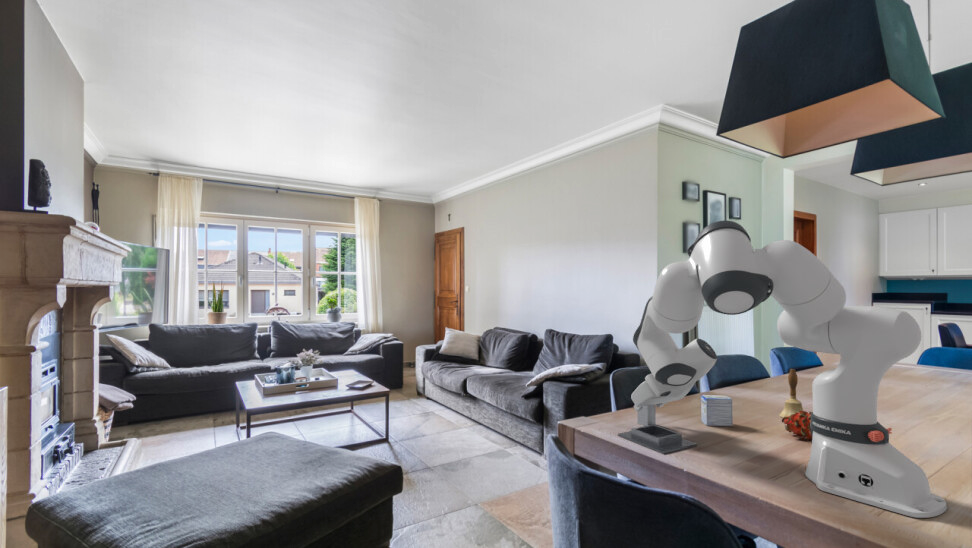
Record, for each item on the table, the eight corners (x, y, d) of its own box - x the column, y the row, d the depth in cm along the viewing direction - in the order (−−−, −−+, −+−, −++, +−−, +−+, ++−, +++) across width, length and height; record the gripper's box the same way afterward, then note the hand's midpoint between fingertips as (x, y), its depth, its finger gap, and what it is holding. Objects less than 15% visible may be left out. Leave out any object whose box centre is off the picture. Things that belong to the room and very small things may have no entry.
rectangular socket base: (696, 446, 119) (696, 436, 119) (663, 454, 113) (663, 443, 113) (649, 429, 133) (649, 420, 133) (618, 435, 127) (618, 426, 127)
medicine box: (726, 422, 141) (726, 395, 141) (733, 427, 136) (732, 398, 136) (701, 421, 141) (700, 394, 142) (706, 426, 137) (706, 398, 137)
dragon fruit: (830, 452, 119) (785, 445, 130) (841, 430, 123) (796, 424, 134) (814, 428, 118) (770, 422, 129) (825, 406, 122) (782, 402, 133)
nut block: (655, 425, 137) (655, 394, 138) (647, 426, 136) (647, 396, 136) (645, 421, 141) (645, 392, 141) (637, 423, 139) (637, 393, 139)
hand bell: (773, 413, 151) (772, 367, 151) (797, 414, 151) (796, 367, 151) (789, 421, 142) (788, 371, 143) (815, 421, 142) (814, 371, 143)
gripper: (690, 369, 136) (664, 394, 145) (643, 375, 127) (618, 401, 135) (703, 387, 132) (675, 411, 141) (655, 394, 123) (629, 420, 131)
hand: (647, 407), depth 138 cm, fingers open, 8 cm apart
